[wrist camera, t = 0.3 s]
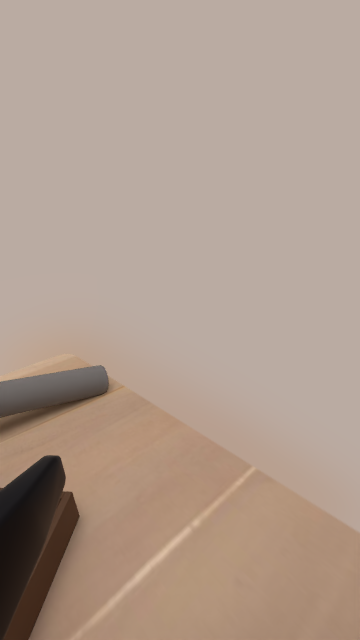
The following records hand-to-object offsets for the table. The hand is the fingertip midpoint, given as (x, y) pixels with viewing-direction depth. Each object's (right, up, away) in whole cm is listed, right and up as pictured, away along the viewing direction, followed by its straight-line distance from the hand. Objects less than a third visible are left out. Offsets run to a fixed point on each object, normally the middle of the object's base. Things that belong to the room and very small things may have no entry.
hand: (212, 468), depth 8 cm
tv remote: (-20, -5, +26) cm, 33 cm away
